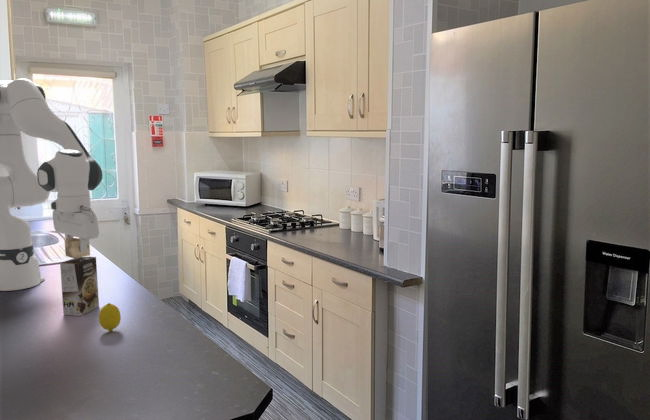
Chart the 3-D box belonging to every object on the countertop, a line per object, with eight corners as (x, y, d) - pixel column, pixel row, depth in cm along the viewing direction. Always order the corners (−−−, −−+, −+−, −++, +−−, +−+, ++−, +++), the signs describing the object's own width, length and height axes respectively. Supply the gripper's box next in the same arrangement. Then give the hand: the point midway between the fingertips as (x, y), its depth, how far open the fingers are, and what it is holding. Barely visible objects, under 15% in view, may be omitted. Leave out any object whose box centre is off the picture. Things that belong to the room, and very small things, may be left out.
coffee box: (81, 316, 163) (78, 263, 161) (62, 315, 164) (58, 262, 162) (100, 306, 172) (96, 256, 170) (81, 305, 173) (78, 255, 171)
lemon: (125, 329, 153) (124, 301, 151) (112, 336, 147) (110, 307, 146) (109, 326, 154) (107, 299, 153) (95, 333, 149) (93, 305, 148)
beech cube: (65, 255, 165) (64, 239, 164) (81, 253, 169) (80, 237, 168) (74, 258, 162) (72, 241, 161) (90, 255, 166) (89, 239, 165)
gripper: (102, 206, 159) (105, 253, 161) (68, 201, 172) (71, 244, 174) (81, 208, 155) (85, 256, 157) (47, 203, 167) (51, 247, 169)
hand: (77, 250), depth 165 cm, fingers closed on beech cube, 5 cm apart
